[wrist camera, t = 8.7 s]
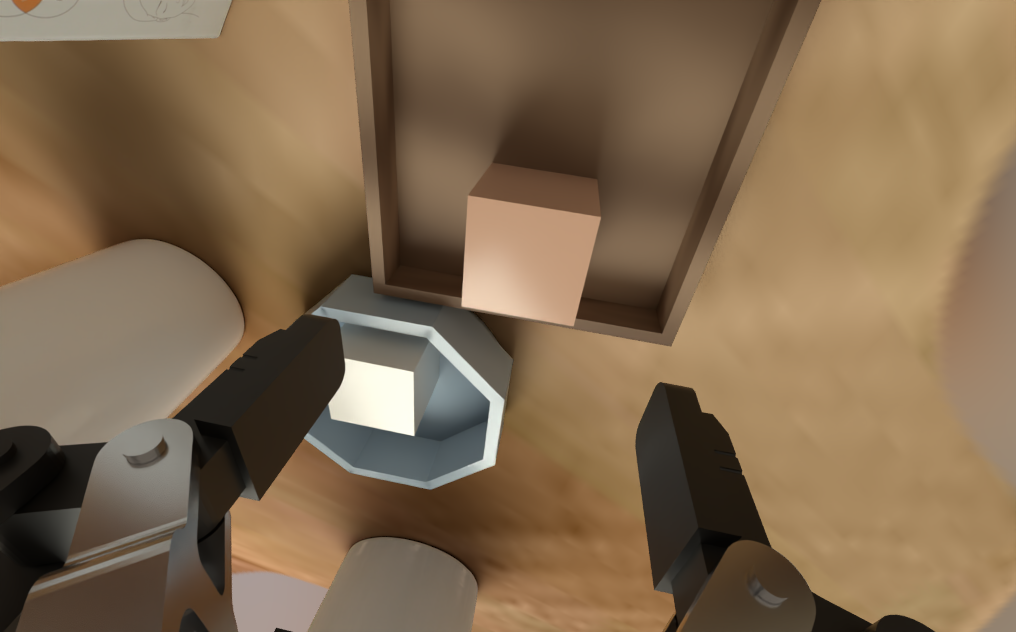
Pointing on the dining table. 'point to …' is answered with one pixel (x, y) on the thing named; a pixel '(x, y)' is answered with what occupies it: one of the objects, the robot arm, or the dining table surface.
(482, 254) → the tan cube
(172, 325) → the candle holder
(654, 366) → the dining table surface
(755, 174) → the dining table surface
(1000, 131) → the dining table surface
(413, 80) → the walnut tray
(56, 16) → the small box
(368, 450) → the ceramic bowl
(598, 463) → the dining table surface
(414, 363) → the off-white cube
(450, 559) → the utensil holder
